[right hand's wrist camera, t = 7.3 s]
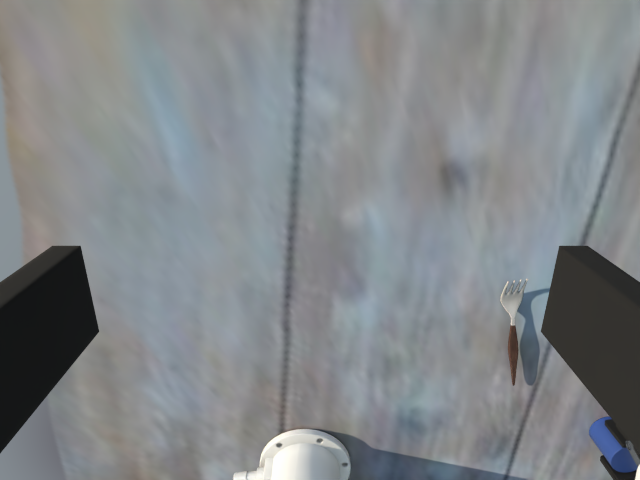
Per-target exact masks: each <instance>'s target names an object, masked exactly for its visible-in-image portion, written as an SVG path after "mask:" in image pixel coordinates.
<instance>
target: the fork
mask: <svg viewBox="0 0 640 480" xmlns="http://www.w3.org/2000/svg"><path fill="white" fill-rule="evenodd" d="M527 281H528V278H527V279H526V281H525V283H524V285H523V286H522V288H521V290H520V291H519V292H518V289H519V286H520V283H521V280H520V281H519V283H518V285H517V287H516V289H515V291H514V292H513V293H512V289H513V286H514V283H515V280H514V281H513V283H512V285H511V287H510V289H509V291H508V293H506V289H507V286H508V283H509V281H508V282H507V284H506V286H505V288H504V290H503V292H502V295H501V303H502V305H503V307H504V308H505V309H506V311H507V312H508V313H509V315H510V317H511V326H510V334H509V342H508V353H509V360H510V367H511V376H512V384H513V385H515V377H516V367H517V359H518V341H517V334H516V327H515V315H516V312H517V310H518V308H519V306H520V304H521V301H522V298H523V293H524V289H525V286H526V283H527Z"/></svg>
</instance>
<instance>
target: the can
mask: <svg viewBox="0 0 640 480" xmlns="http://www.w3.org/2000/svg"><path fill="white" fill-rule="evenodd" d="M609 419H612V418H611V417H604V418H601V419H599V420H597V421H596V422H594V423H593V424H592V426H591V427H590V430H589V434H590V437H591V438H592V440H593V441H594V442H595V444H596V445H597V447H598V448H599V449H600V451H601V452H602V454H603V455H604V456H605V458H606V459H607V461H608V462H609V463H610V465H611V466H612V468H613V469H615V470H616V471H618V472H624V473H626V472H632V471H635V470H637V468H638V467H637V465H636V463H635V462H634V460H633V458H632V456H631V454H630V453H629V451H628V449H627V448H622V447H621V445H620V444H619V443H618V441H617V440H616V439H615V438H614V436H613V435H612V434H611V432H610V431H609V430H608V429H607V427H606V426H605V420H609Z"/></svg>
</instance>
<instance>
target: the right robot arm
mask: <svg viewBox="0 0 640 480" xmlns="http://www.w3.org/2000/svg"><path fill="white" fill-rule="evenodd" d="M98 332H99V329H98V324H97V320H96V315H95V310H94V306H93V301H92V297H91V292H90V287H89V283H88V278H87V274H86V269H85V264H84V260H83V255H82V250H81V246H52V247H50V248H49V249H47V250H46V251H45V252H43V253H42V254H40V255H39V256H37V257H36V258H35V259H33V260H32V261H30V262H29V263H27V264H26V265H24V266H23V267H22V268H20V269H19V270H17V271H16V272H14V273H13V274H12V275H10V276H9V277H7V278H6V279H4V280H3V281H2V282H0V453H1V452H2V450H3V449H4V448H5V447H6V446H7V444H8V443H9V442H10V441H11V439H12V438H13V437H14V436H15V434H16V433H17V432H18V431H19V429H20V428H21V427H22V426H23V425H24V423H25V422H26V421H27V420H28V418H29V417H30V416H31V415H32V414H33V412H34V411H35V410H36V409H37V407H38V406H39V405H40V404H41V402H42V401H43V400H44V399H45V398H46V396H47V395H48V394H49V393H50V391H51V390H52V389H53V388H54V386H55V385H56V384H57V383H58V382H59V380H60V379H61V378H62V377H63V375H64V374H65V373H66V372H67V370H68V369H69V368H70V367H71V365H72V364H73V363H74V362H75V361H76V359H77V358H78V357H79V356H80V354H81V353H82V352H83V351H84V349H85V348H86V347H87V346H88V345H89V343H90V342H91V341H92V340H93V338H94V337H95V336H96V335H97V333H98ZM541 332H542V333H543V335H544V336H545V337H546V338H547V340H548V341H549V342H550V343H551V345H552V346H553V347H554V348H555V349H556V351H557V352H558V353H559V354H560V356H561V357H562V358H563V359H564V361H565V362H566V363H567V364H568V365H569V367H570V368H571V369H572V370H573V372H574V373H575V374H576V375H577V377H578V378H579V379H580V380H581V382H582V383H583V384H584V385H585V386H586V388H587V389H588V390H589V391H590V393H591V394H592V395H593V396H594V398H595V399H596V400H597V401H598V402H599V404H600V405H601V406H602V407H603V409H604V410H605V411H606V412H607V414H608V415H609V416H610V417H611V418H612V420H613V421H614V422H615V423H616V425H617V426H618V427H619V428H620V430H621V431H622V432H623V433H624V434H625V436H626V437H627V438H628V439H629V441H630V442H631V443H632V444H633V446H634V447H635V448H636V449H637V450H638V452H639V453H640V282H638V281H637V280H636V279H634V278H633V277H631V276H630V275H628V274H627V273H626V272H624V271H623V270H621V269H620V268H618V267H617V266H616V265H614V264H613V263H611V262H610V261H608V260H607V259H605V258H604V257H603V256H601V255H600V254H598V253H597V252H595V251H594V250H593V249H591V248H590V247H588V246H559V250H558V255H557V260H556V264H555V269H554V274H553V278H552V283H551V287H550V292H549V297H548V301H547V306H546V310H545V315H544V320H543V324H542V329H541Z"/></svg>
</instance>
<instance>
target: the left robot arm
mask: <svg viewBox="0 0 640 480" xmlns="http://www.w3.org/2000/svg"><path fill="white" fill-rule="evenodd" d="M605 426H606V427H607V429H608V430H609V431H610V432H611V434H612V435H613V436H614V438H615V439H616V440H617V441H618V443H619V444H620V445H621V447H622V448H627V449H628V451H629V453H630V454H631V456H632V458H633V460H634V462H635V463H636V465H637V467H638V468H637V470H635V471H632V472H626V473H624V472H618V471H616V470H615V469H613V468H612V466H611V465H610V463H609V462H608V461H607V459H606V458H605V456H604V455H602V456H601V457H600V461H601V462H602V464H603V465H604V467H605V468H606V470H607V471H608V472H609V474H610V475H611V477H612V478H613V480H640V453H639V452H638V450H637V449H636V448H635V447H634V446H633V444H632V443H631V442H630V441H629V439H628V438H627V437H626V436H625V434H624V433H623V432H622V431H621V430H620V428H619V427H618V426H617V425H616V423H615V422H614V421H613V420H612V419H609V420H605ZM350 469H351V464H350V457H349V454H348V451H347V450H346V448H345V447H344V445H343V444H342V443H341V442H340V441H339V440H338V439H336V438H335V437H333V436H331V435H329V434H327V433H325V432H321V431H318V430H311V429H297V430H292V431H288V432H285V433H282V434H280V435H278V436H277V437H275V438H274V439H272V440H271V441H270V442H269V443H268V444H267V445H266V447H265V448H264V450H263V452H262V454H261V459H260V467H259V468H257V471H252V472H248V471H244V472H235V473H234V478H233V480H348V478H349V475H350Z"/></svg>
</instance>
